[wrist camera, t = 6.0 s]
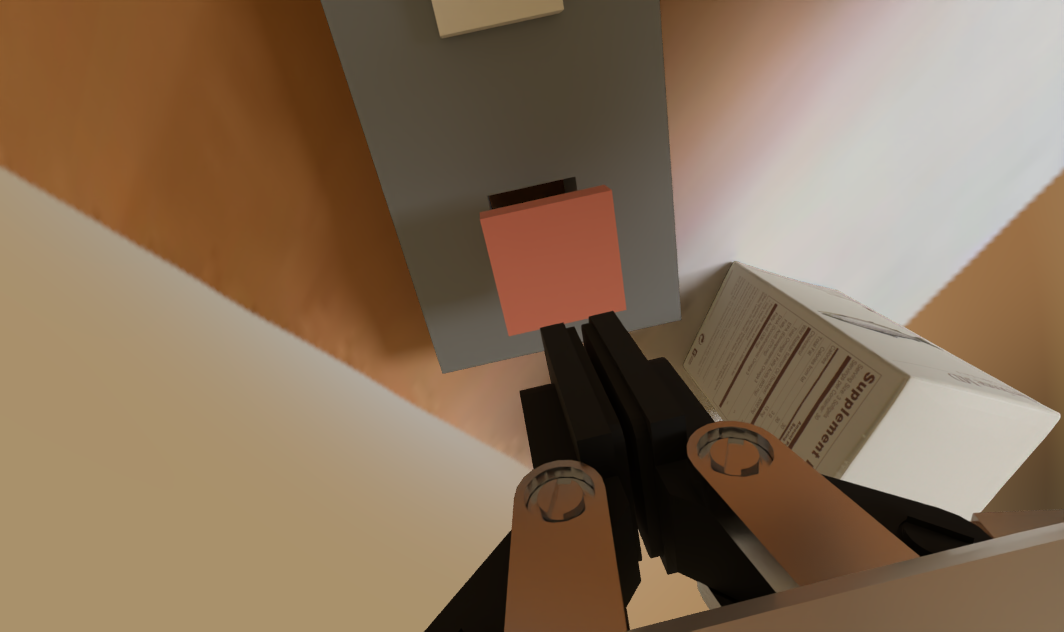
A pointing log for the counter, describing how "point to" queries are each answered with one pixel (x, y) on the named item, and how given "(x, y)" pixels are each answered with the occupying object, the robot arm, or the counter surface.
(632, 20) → the plug panel
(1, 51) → the counter surface
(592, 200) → the red plug
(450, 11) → the ivory plug
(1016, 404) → the supplement box
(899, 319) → the counter surface
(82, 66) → the counter surface
